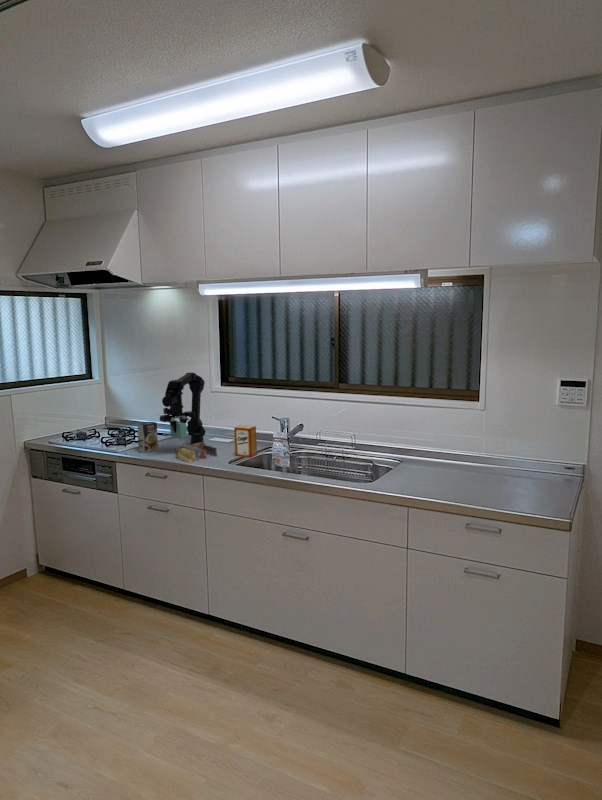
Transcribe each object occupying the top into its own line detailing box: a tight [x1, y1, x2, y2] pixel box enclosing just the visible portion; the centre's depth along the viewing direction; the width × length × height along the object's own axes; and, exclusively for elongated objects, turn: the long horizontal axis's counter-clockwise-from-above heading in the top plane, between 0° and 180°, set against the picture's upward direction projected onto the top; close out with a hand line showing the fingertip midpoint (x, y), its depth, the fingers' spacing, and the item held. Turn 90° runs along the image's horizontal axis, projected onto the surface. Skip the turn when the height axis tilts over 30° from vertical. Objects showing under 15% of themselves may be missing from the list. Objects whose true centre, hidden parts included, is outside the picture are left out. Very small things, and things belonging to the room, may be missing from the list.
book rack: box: [175, 441, 218, 463], centre depth 299 cm, size 17×12×6 cm
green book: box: [169, 420, 188, 440], centre depth 304 cm, size 4×11×8 cm, turn 42°
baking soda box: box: [234, 424, 258, 458], centre depth 300 cm, size 10×6×16 cm
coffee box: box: [137, 421, 159, 454], centre depth 315 cm, size 9×6×16 cm
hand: (178, 431), depth 304 cm, fingers closed on green book, 3 cm apart
